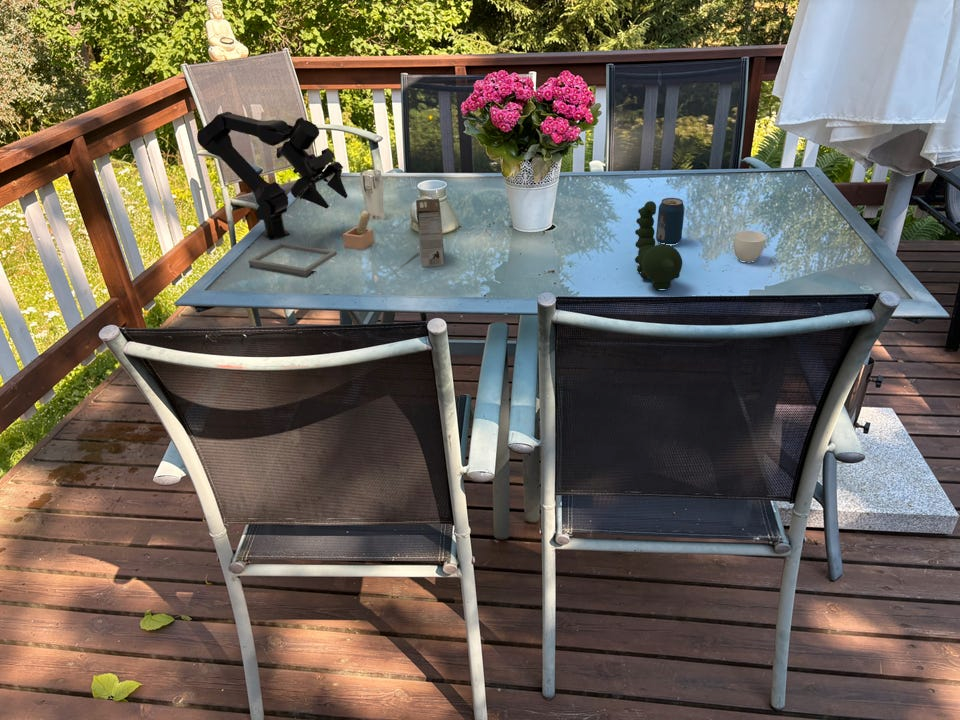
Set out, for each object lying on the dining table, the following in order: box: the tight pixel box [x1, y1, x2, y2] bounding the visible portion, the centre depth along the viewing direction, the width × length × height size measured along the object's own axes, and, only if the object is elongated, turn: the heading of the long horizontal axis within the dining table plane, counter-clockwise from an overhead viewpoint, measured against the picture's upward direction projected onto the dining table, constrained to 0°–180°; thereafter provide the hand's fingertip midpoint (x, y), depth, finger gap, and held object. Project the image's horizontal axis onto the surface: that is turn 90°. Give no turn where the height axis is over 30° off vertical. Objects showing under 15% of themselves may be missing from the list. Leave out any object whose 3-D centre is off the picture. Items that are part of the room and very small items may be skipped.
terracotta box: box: [342, 226, 375, 251], centre depth 204 cm, size 6×6×5 cm
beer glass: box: [359, 169, 387, 221], centre depth 222 cm, size 7×7×15 cm
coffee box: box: [415, 198, 445, 268], centre depth 191 cm, size 9×6×16 cm
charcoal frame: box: [247, 241, 338, 278], centre depth 198 cm, size 20×14×2 cm
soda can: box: [655, 197, 686, 244], centre depth 195 cm, size 7×7×12 cm
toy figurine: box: [634, 200, 683, 290], centre depth 174 cm, size 9×19×25 cm
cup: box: [733, 230, 767, 262], centre depth 185 cm, size 8×10×7 cm
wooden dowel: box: [356, 210, 370, 236], centre depth 202 cm, size 6×2×11 cm, turn 64°
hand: (337, 202), depth 201 cm, fingers open, 9 cm apart
